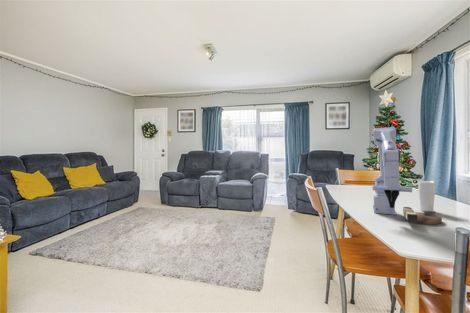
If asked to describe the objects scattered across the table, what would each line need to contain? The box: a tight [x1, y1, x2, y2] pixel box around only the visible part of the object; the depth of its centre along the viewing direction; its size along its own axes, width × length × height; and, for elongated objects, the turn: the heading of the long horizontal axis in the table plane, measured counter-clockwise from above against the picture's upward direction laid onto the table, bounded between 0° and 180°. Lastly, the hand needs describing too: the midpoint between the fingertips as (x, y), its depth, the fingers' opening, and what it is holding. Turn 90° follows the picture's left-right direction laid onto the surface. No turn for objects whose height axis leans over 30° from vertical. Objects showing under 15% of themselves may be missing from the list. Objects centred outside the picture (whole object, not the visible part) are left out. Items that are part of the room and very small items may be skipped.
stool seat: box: [404, 210, 443, 226], centre depth 106 cm, size 13×13×4 cm
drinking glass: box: [417, 180, 436, 212], centre depth 120 cm, size 7×7×15 cm
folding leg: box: [402, 206, 417, 224], centre depth 103 cm, size 14×3×3 cm, turn 151°
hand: (391, 207), depth 104 cm, fingers closed
